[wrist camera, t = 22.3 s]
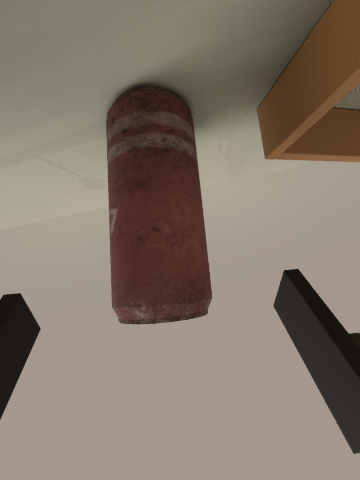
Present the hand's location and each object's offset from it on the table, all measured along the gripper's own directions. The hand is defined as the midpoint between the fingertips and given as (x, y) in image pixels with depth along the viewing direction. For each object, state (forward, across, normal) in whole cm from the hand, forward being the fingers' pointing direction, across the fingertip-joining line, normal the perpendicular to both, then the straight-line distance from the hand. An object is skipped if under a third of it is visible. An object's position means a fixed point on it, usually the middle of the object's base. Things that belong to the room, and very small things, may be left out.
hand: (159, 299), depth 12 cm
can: (+11, 0, +7) cm, 13 cm away
